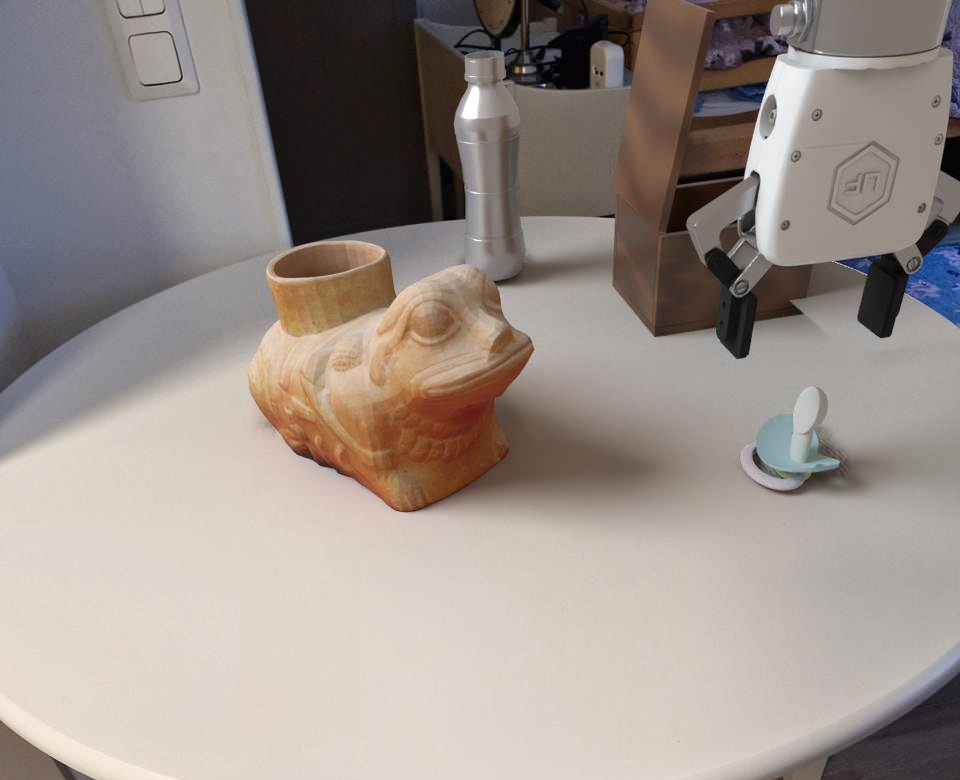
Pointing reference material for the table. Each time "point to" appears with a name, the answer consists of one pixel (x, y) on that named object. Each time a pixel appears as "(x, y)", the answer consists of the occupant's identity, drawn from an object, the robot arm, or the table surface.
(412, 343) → the ceramic vessel
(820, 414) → the pacifier
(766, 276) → the chest
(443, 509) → the table surface
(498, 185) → the silver bottle
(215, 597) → the table surface
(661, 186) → the lid
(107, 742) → the table surface
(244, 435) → the table surface
